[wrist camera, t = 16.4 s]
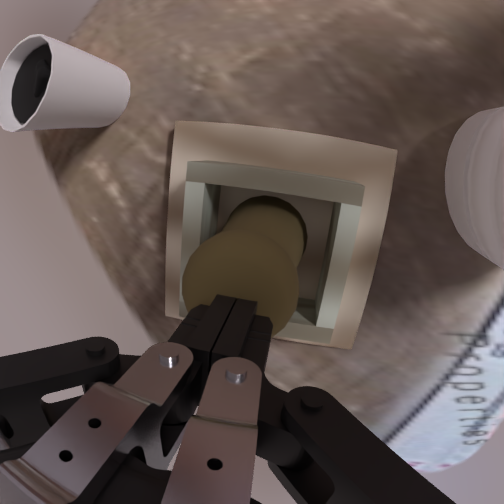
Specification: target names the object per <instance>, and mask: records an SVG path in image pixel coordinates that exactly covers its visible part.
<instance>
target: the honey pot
mask: <svg viewBox="0 0 504 504" xmlns="http://www.w3.org/2000/svg"><path fill="white" fill-rule="evenodd" d="M445 195H446V200H447V204H448V209H449V214H450V216H451V218H452V221H453V223H454V225H455V228H456V230H457V232H458V233H459V234H460V236H461V237H462V238H463V240H464V241H465V242H466V244H467V245H468V246H470V247H471V248H472V249H474V250H475V251H477V252H478V253H479V254H481V255H482V256H484V257H485V258H487V259H488V260H490V261H491V262H493V263H494V264H496V265H497V266H499V267H500V268H502V269H504V107H499V108H493V109H488V110H484V111H479V112H477V113H476V114H474V115H473V116H471V117H470V118H468V119H467V120H466V121H465V122H464V123H463V124H462V126H461V127H460V128H459V130H458V131H457V132H456V134H455V136H454V139H453V141H452V143H451V146H450V148H449V151H448V156H447V162H446V167H445Z"/></svg>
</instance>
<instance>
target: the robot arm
mask: <svg viewBox="0 0 504 504" xmlns="http://www.w3.org/2000/svg"><path fill="white" fill-rule="evenodd" d="M257 305H258V302H257V301H252V300H246V299H241V298H238V299H237V298H235V297H230V296H224V295H219V294H217V295H216V297H215V298H214V300H213V301H212V303H211V305H210V306H208V305H203V304H200V305H198V306H196V307H194V308H193V309H191V310H190V312H189V313H188V314H187V316H186V318H184V320H183V321H182V322H181V324H180V325H179V327H178V328H177V329H176V331H175V332H174V334H173V335H172V336H171V338H170V339H169V340H168V342H163V343H158V344H155V345H153V346H151V347H150V348H148V350H147V351H146V352H145V353H144V354H143V355H142V356H134V355H121V354H119V348H118V346H117V344H116V343H115V342H114V341H112V340H110V339H108V338H104V337H90V338H86V339H81V340H77V341H73V342H68V343H64V344H60V345H55V346H51V347H46V348H41V349H37V350H32V351H27V352H23V353H18V354H13V355H8V356H3V357H0V504H261V503H260V502H258V501H256V500H254V499H252V498H251V489H252V480H253V472H254V471H253V470H254V463H255V455H257V456H259V457H262V458H263V459H266V460H267V461H268V466H269V468H270V469H271V470H272V472H273V473H274V474H275V476H276V477H277V479H278V480H279V481H280V482H281V484H282V485H283V486H284V488H285V489H286V490H287V491H288V493H289V494H290V495H291V496H292V497H293V499H294V500H295V501H296V503H297V504H456V503H455V502H454V501H452V500H451V499H450V498H449V497H447V496H446V495H445V494H444V493H442V492H441V491H440V490H439V489H437V488H436V487H435V486H434V485H433V484H431V483H430V482H429V481H428V480H426V479H425V478H424V477H423V476H422V475H420V474H419V473H418V472H417V471H416V470H415V469H413V468H412V467H411V466H410V465H409V464H408V463H406V462H405V461H404V460H403V459H402V458H401V457H399V456H398V455H397V454H396V453H395V452H394V451H392V450H391V449H390V448H389V447H388V446H387V445H386V444H385V443H383V442H382V441H381V440H380V439H379V438H378V437H377V436H375V435H374V434H373V433H372V432H371V431H370V430H369V429H368V428H367V427H365V426H364V425H363V424H362V423H361V422H360V421H359V420H358V419H357V418H356V417H354V416H353V415H352V414H351V413H350V412H349V411H348V410H347V409H346V408H345V407H344V406H343V405H341V404H340V403H339V402H338V401H337V400H336V399H335V398H334V397H333V396H332V395H331V394H329V393H328V392H326V391H324V390H322V389H320V388H316V387H310V386H303V387H298V388H295V389H293V390H291V391H290V392H289V393H288V392H285V391H283V390H281V389H279V388H277V387H275V386H273V385H272V384H271V383H270V382H269V381H268V380H267V378H266V377H265V374H264V371H265V367H266V362H267V357H268V352H269V346H270V341H271V335H272V330H273V324H272V322H271V320H270V318H269V317H266V316H260V315H256V312H257ZM80 385H82V387H83V391H84V395H81V396H78V397H74V398H70V399H67V400H63V401H59V402H55V403H46V402H44V401H43V400H42V399H41V398H42V397H43V396H44V395H46V394H49V393H52V392H57V391H60V390H64V389H68V388H72V387H76V386H80ZM197 406H199V407H198V411H197V414H196V415H193V414H194V412H195V410H196V408H197ZM180 444H181V445H180ZM179 446H180V448H179ZM178 448H179V452H178V454H177V457H176V460H175V463H174V466H173V469H172V471H169V470H167V468H168V466H169V463H170V461H171V460H172V458H173V456H174V455H175V453H176V451H177V449H178Z"/></svg>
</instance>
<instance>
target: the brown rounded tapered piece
mask: <svg viewBox="0 0 504 504" xmlns="http://www.w3.org/2000/svg"><path fill="white" fill-rule="evenodd" d="M307 239H308V236H307V230H306V224H305V222H304V220H303V218H302V216H301V214H300V213H299V212H298V211H297V210H296V209H295V208H294V207H293V206H292V205H291V204H290V203H289V202H287V201H285V200H283V199H280V198H278V197H274V196H267V195H262V196H256V197H251V198H249V199H247V200H245V201H244V202H242V203H240V204H239V205H238V206H237V207H236V208H235V209H234V210H233V211H232V212H231V214H230V216H229V218H228V220H227V222H226V224H225V226H224V228H223V230H222V232H220V233H218V234H217V235H215V236H213V237H211V238H209V239H207V240H206V241H204V242H203V243H202V244H201V245H200V246H199V247H198V248H197V249H196V250H195V251H194V253H193V254H192V255H191V256H190V258H189V260H188V263H187V265H186V268H185V270H184V273H183V276H182V296H183V300H184V303H185V306H186V310H187V312H188V313H189V312H190V310H191V309H193V308H194V307H196V306H198V305H200V304H203V305H208V306H210V305H211V303H212V301H213V300H214V298H215V297H216V295H217V294H219V295H224V296H230V297H235V298H237V299H238V298H241V299H246V300H252V301H257V302H258V305H257V312H256V315H260V316H266V317H269V318H270V320H271V322H272V324H273V330H272V335H271V338H272V337H274V336H275V335H276V334H277V333H279V332H280V331H281V330H282V329H283V328H285V326H286V325H287V323H288V322H289V320H290V318H291V317H292V315H293V313H294V312H295V310H296V307H297V302H298V297H299V281H298V274H297V269H296V268H297V266H298V264H299V262H300V260H301V258H302V256H303V254H304V252H305V250H306V245H307Z"/></svg>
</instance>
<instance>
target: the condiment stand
mask: <svg viewBox="0 0 504 504" xmlns="http://www.w3.org/2000/svg"><path fill="white" fill-rule="evenodd" d="M397 151H398V150H395V149H391V148H386V147H382V146H377V145H373V144H368V143H363V142H359V141H354V140H348V139H343V138H338V137H332V136H326V135H320V134H314V133H308V132H301V131H294V130H286V129H279V128H270V127H261V126H252V125H241V124H229V123H215V122H197V121H176V122H175V131H174V140H173V150H172V160H171V172H170V185H169V199H168V216H167V237H166V270H165V316H169V317H173V318H177V319H182V320H184V318H186V316H187V314H188V312H187V310H186V306H185V303H184V300H183V296H182V276H183V273H184V270H185V268H186V265H187V263H188V260H189V258H190V256H191V255H192V254H193V253H194V251H195V250H196V249H197V248H198V247H199V246H200V245H201V244H202V243H203V242H204V241H206V240H207V239H209V238H211V237H213V236H215V235H217V234H218V233H220V232H222V230H223V228H224V226H225V224H226V222H227V220H228V218H229V216H230V214H231V212H232V211H233V210H234V209H235V208H236V207H237V206H238V205H239V204H240V203H242V202H244V201H245V200H247V199H249V198H251V197H256V196H262V195H267V196H274V197H278V198H280V199H283V200H285V201H287V202H289V203H290V204H291V205H292V206H293V207H294V208H295V209H296V210H297V211H298V212H299V213H300V214H301V216H302V218H303V220H304V222H305V224H306V230H307V236H308V239H307V245H306V250H305V252H304V254H303V256H302V258H301V260H300V262H299V264H298V266H297V268H296V269H297V274H298V281H299V297H298V302H297V307H296V310H295V312H294V313H293V315H292V317H291V318H290V320H289V322H288V323H287V325H286V326H285V328H283V329H282V330H281V331H280V332H279V333H277V334H276V335H275V336H274V337H272V338H276V339H282V340H288V341H295V342H301V343H308V344H314V345H321V346H328V347H336V348H344V349H352V346H353V343H354V340H355V337H356V334H357V331H358V328H359V324H360V321H361V318H362V314H363V311H364V308H365V304H366V300H367V297H368V293H369V290H370V286H371V282H372V278H373V274H374V270H375V266H376V262H377V258H378V254H379V250H380V245H381V241H382V236H383V232H384V227H385V222H386V217H387V212H388V207H389V201H390V196H391V190H392V184H393V178H394V172H395V165H396V158H397Z"/></svg>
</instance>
